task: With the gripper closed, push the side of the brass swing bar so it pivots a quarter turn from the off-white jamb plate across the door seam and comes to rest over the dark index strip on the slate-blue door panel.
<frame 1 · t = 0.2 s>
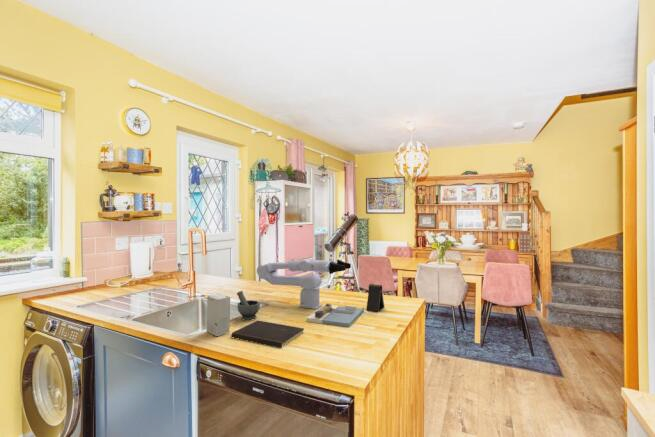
hand: (347, 267, 154), 21 cm above the worktop, tool horizontal, fingers open, 7 cm apart
jamb plate: (323, 314, 148), on the worktop
door panel: (344, 317, 144), on the worktop
skincare box: (218, 333, 127), on the worktop
phone stand: (375, 309, 157), on the worktop
mortar and pestle: (247, 318, 144), on the worktop
swing bar: (323, 310, 145), point 3 cm above the worktop, hinge at -90.0°
hardcover book: (268, 337, 124), on the worktop
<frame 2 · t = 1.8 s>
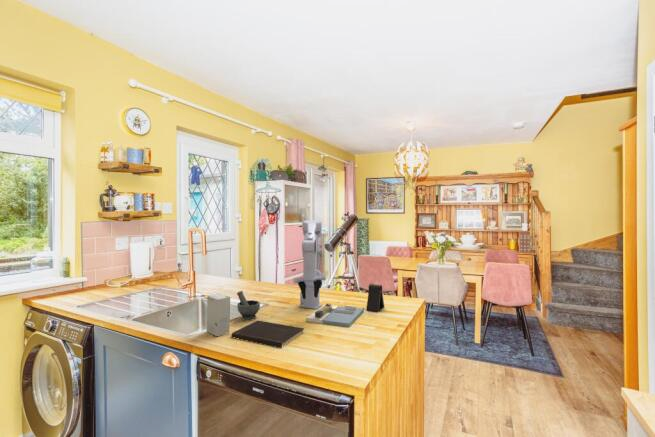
hand: (309, 297, 141), 10 cm above the worktop, tool pointing down, fingers open, 5 cm apart
nothing on the worktop moved.
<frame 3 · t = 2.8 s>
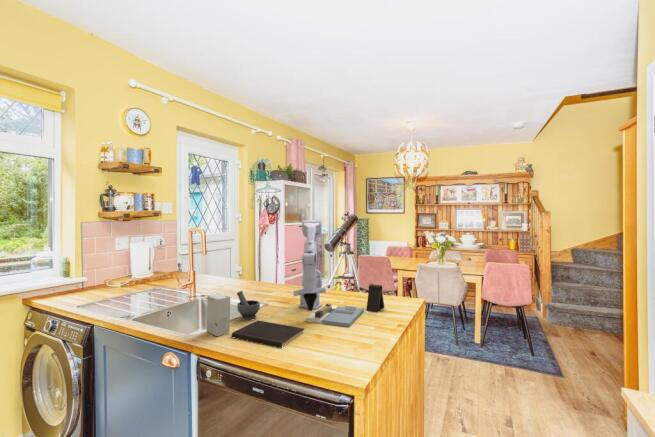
hand: (310, 310, 141), 4 cm above the worktop, tool pointing down, fingers closed
nothing on the worktop moved.
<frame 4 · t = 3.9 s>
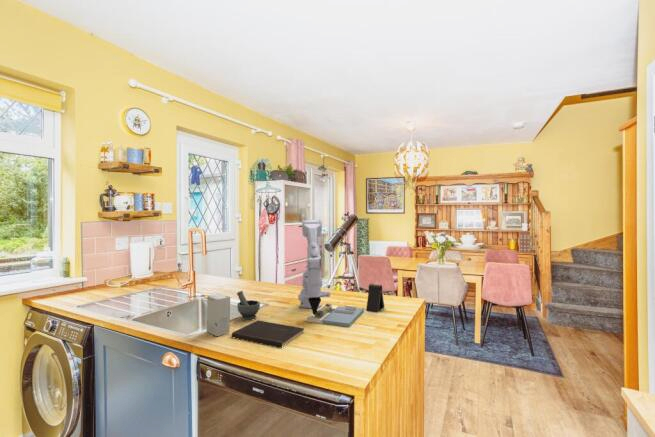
hand: (314, 314, 142), 2 cm above the worktop, tool pointing down, fingers closed
swing bar: (323, 310, 145), point 3 cm above the worktop, hinge at -89.7°, touching gripper
everything else where it was.
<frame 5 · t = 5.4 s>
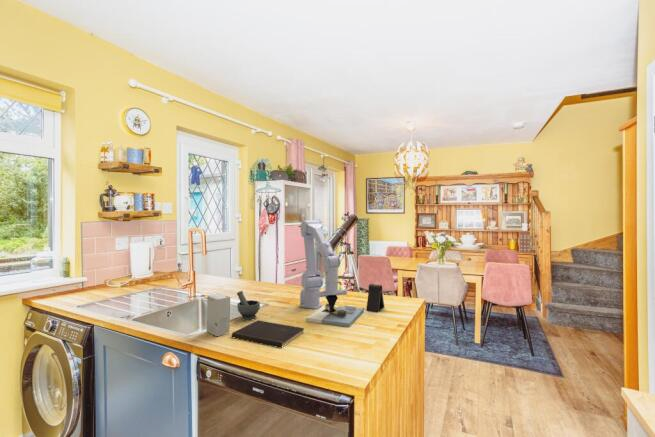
hand: (331, 311, 144), 3 cm above the worktop, tool pointing down, fingers closed, pressing on swing bar
swing bar: (334, 309, 145), point 3 cm above the worktop, hinge at -34.6°, touching gripper
everything else where it was.
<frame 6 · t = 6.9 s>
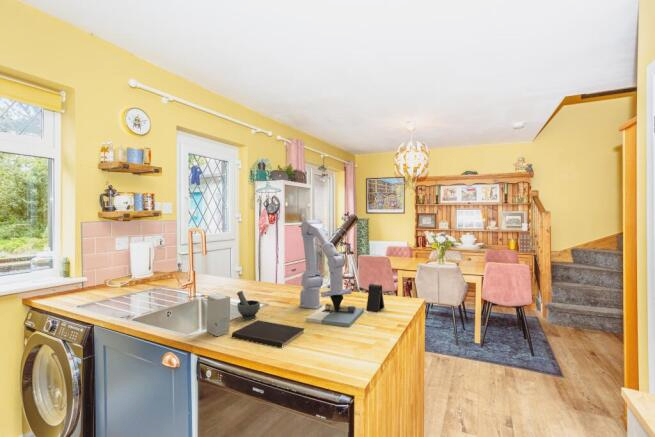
hand: (336, 311, 146), 2 cm above the worktop, tool pointing down, fingers closed
swing bar: (339, 307, 149), point 3 cm above the worktop, hinge at 6.9°, touching gripper
everything else where it was.
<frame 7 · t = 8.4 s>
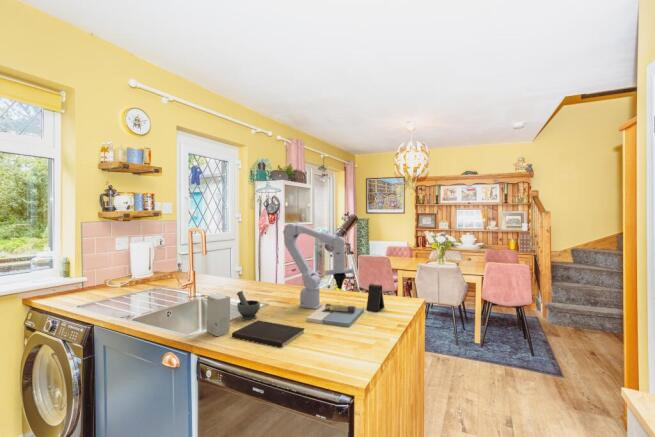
hand: (339, 288, 158), 10 cm above the worktop, tool pointing down, fingers closed
swing bar: (339, 307, 149), point 3 cm above the worktop, hinge at 7.0°
everything else where it was.
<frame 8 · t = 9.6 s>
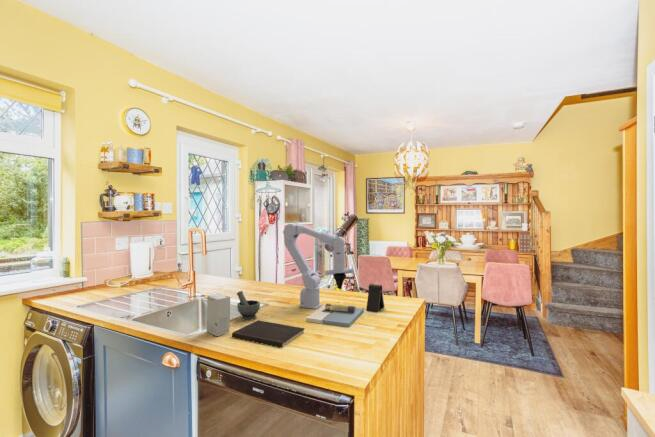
hand: (339, 288, 158), 10 cm above the worktop, tool pointing down, fingers closed
nothing on the worktop moved.
at the end: swing bar at +7° (first picture: -90°) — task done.
